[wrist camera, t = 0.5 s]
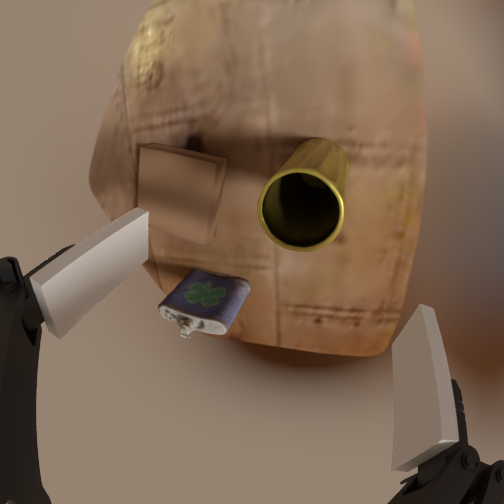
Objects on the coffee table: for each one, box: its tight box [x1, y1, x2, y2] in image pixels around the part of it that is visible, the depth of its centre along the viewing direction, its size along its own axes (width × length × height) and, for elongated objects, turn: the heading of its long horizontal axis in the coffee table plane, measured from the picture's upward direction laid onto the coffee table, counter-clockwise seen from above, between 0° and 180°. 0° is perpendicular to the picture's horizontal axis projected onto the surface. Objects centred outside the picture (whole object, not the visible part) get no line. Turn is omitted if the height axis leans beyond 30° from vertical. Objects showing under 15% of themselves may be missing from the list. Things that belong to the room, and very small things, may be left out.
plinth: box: [138, 143, 228, 246], centre depth 33 cm, size 10×10×3 cm
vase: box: [258, 138, 349, 252], centre depth 22 cm, size 6×6×14 cm
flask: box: [158, 268, 251, 338], centre depth 35 cm, size 9×3×11 cm, turn 88°
